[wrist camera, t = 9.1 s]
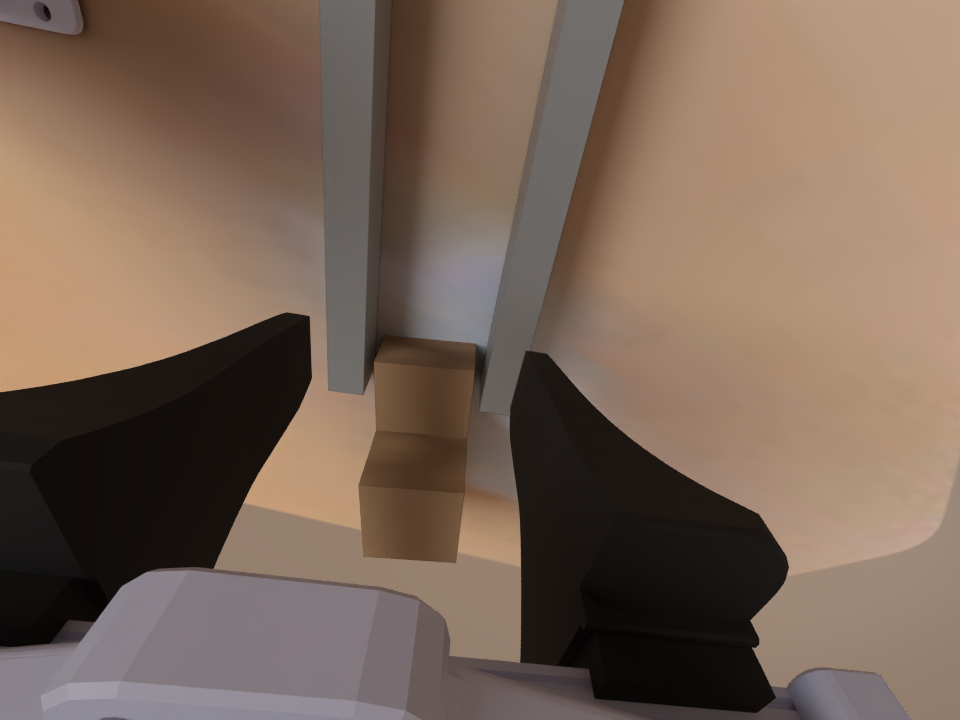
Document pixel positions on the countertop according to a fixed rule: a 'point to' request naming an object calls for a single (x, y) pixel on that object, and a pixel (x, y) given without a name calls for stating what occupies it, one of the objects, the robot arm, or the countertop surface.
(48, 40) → the countertop surface
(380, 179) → the channel
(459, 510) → the block
